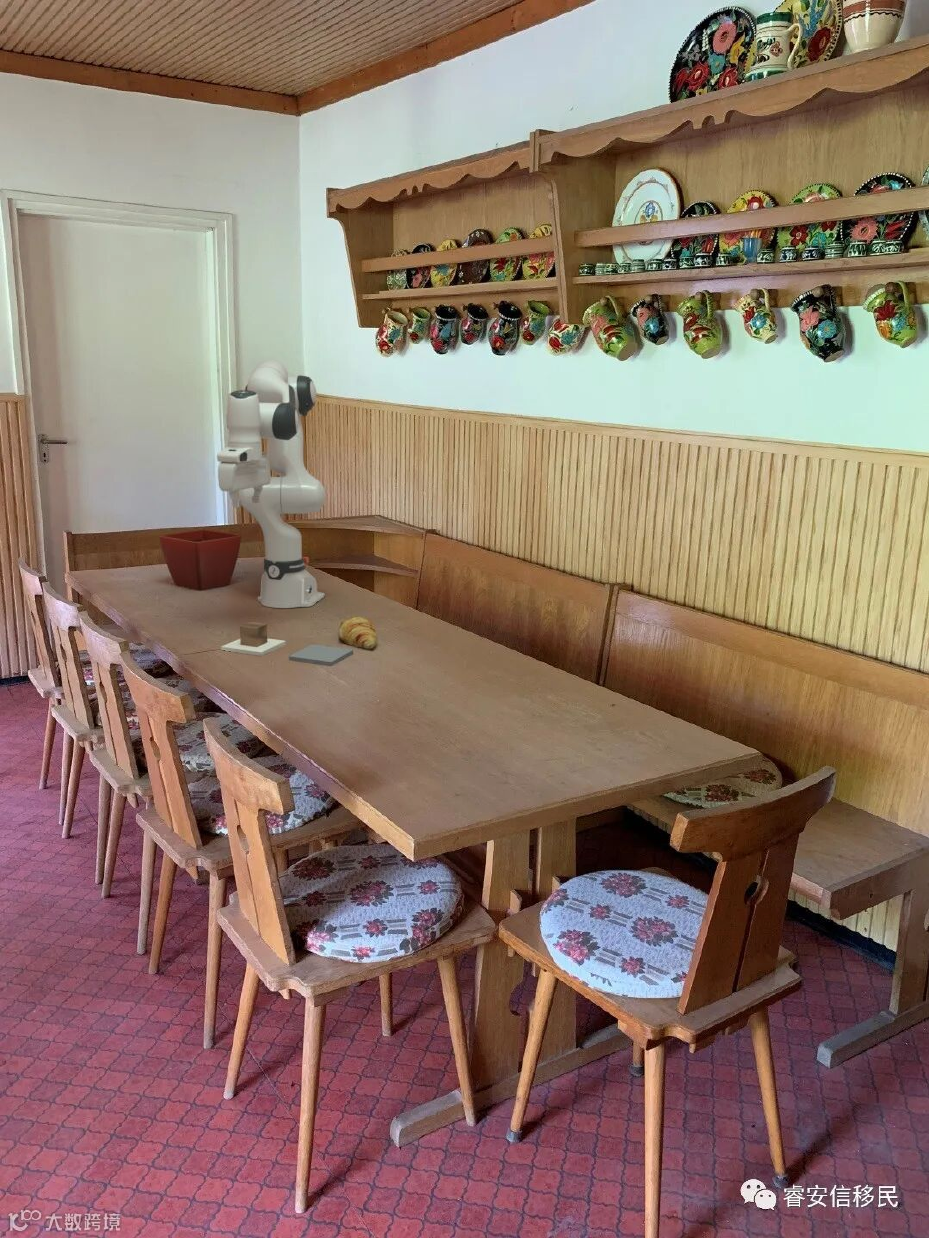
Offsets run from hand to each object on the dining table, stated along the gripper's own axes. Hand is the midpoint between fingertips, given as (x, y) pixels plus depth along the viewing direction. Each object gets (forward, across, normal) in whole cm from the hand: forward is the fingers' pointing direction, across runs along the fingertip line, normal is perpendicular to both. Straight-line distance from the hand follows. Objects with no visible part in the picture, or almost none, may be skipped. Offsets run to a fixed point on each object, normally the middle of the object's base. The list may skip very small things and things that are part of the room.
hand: (246, 504), depth 272 cm
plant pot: (+35, -42, -45) cm, 71 cm away
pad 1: (+35, +14, +10) cm, 39 cm away
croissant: (+36, -3, +31) cm, 48 cm away
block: (+34, +14, +10) cm, 38 cm away
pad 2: (+35, +14, +30) cm, 48 cm away
